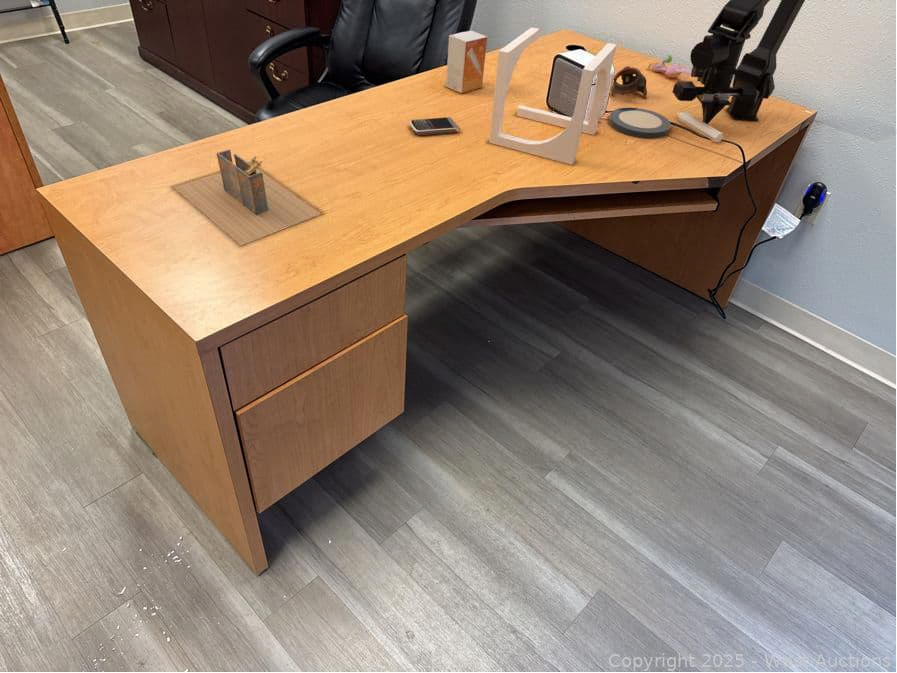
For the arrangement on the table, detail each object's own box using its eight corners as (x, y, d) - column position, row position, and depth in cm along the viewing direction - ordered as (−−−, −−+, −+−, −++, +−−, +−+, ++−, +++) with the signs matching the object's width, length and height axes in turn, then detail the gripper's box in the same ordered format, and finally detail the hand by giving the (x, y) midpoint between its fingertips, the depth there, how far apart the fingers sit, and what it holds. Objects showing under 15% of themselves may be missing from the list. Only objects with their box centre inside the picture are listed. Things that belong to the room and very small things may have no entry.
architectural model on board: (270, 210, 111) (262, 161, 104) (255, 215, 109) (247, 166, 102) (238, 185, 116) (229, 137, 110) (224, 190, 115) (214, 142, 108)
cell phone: (407, 125, 141) (408, 119, 140) (452, 122, 144) (452, 116, 143) (415, 137, 137) (415, 131, 136) (460, 133, 140) (461, 127, 139)
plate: (661, 115, 156) (662, 109, 155) (675, 140, 145) (677, 134, 144) (603, 110, 155) (605, 105, 154) (614, 135, 144) (616, 129, 143)
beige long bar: (674, 118, 156) (718, 144, 146) (669, 115, 155) (713, 141, 145) (680, 109, 155) (725, 134, 145) (676, 106, 154) (721, 131, 143)
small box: (461, 94, 158) (465, 41, 149) (445, 86, 161) (448, 34, 152) (482, 87, 162) (488, 36, 153) (466, 80, 165) (470, 29, 156)
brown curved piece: (652, 104, 162) (649, 79, 155) (617, 117, 165) (613, 93, 158) (641, 77, 168) (637, 52, 162) (607, 89, 171) (602, 66, 164)
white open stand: (488, 142, 137) (499, 50, 124) (519, 112, 151) (531, 27, 137) (572, 164, 132) (592, 71, 118) (596, 132, 145) (616, 44, 132)
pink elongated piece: (643, 74, 181) (683, 83, 171) (646, 53, 178) (687, 60, 168) (657, 72, 184) (697, 80, 174) (660, 50, 181) (702, 58, 170)
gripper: (752, 50, 145) (730, 114, 156) (675, 48, 145) (659, 112, 156) (769, 66, 137) (745, 132, 148) (688, 64, 137) (670, 130, 148)
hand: (704, 126), depth 150 cm, fingers closed
